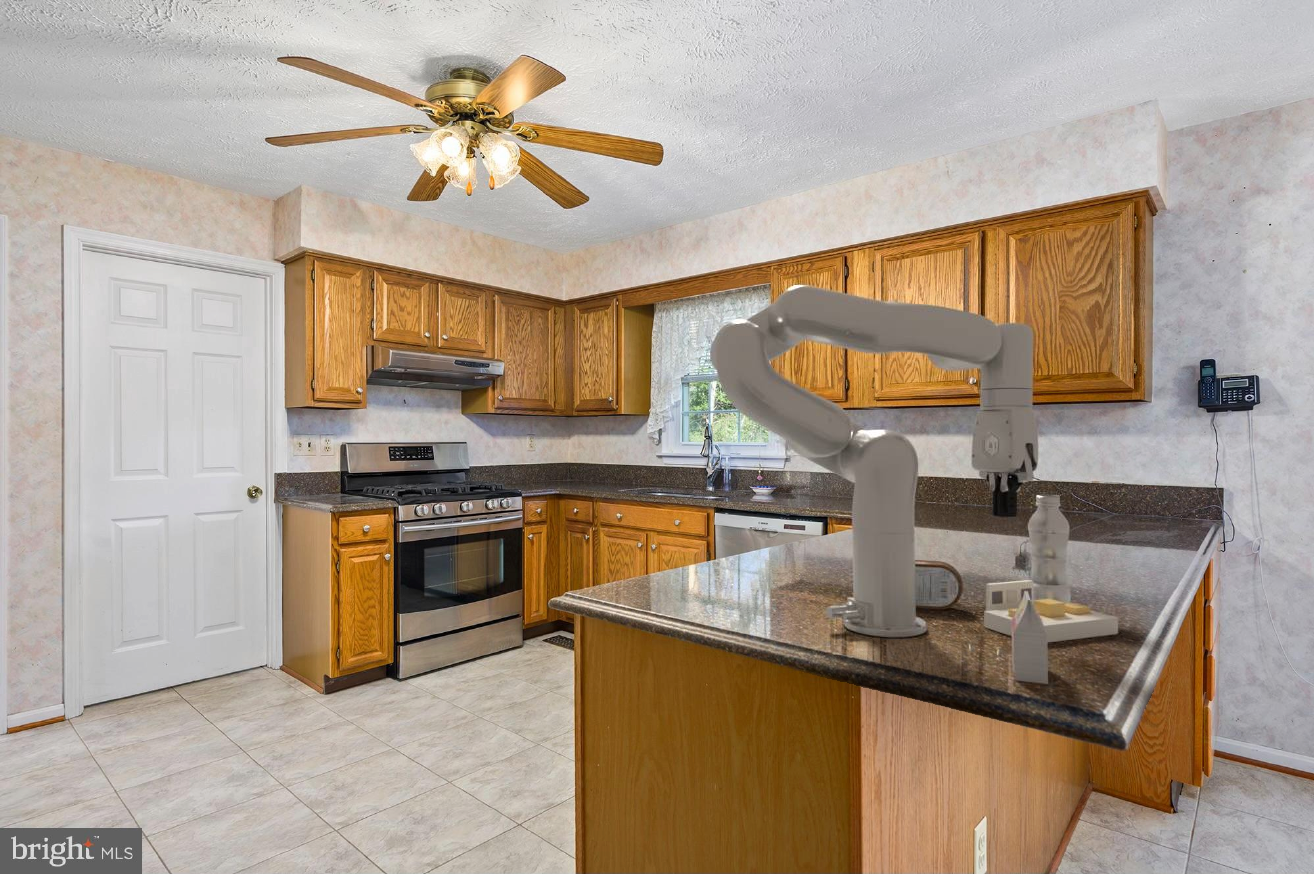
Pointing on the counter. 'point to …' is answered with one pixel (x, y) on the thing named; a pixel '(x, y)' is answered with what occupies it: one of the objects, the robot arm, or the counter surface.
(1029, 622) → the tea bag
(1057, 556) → the plastic bottle
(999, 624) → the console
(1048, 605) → the button mid
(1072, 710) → the counter surface
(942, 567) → the tin
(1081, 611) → the button far
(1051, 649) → the counter surface
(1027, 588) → the card
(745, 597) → the counter surface
